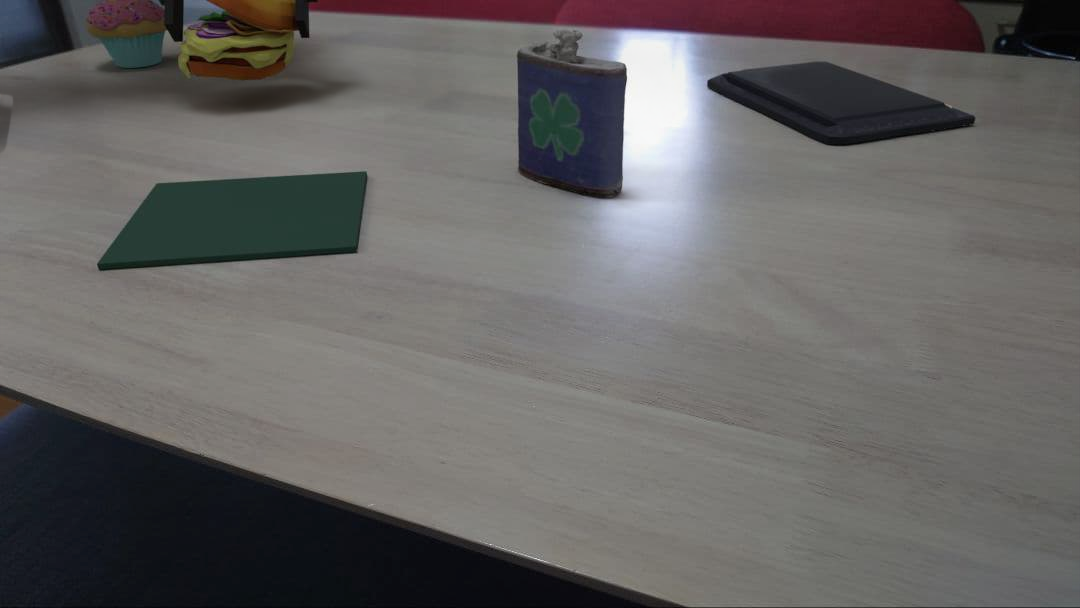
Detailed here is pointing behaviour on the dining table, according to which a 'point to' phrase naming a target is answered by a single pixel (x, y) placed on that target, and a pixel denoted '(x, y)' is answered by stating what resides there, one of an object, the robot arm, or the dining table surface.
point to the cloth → (242, 220)
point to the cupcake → (129, 31)
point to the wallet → (836, 102)
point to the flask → (571, 117)
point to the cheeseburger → (240, 40)
